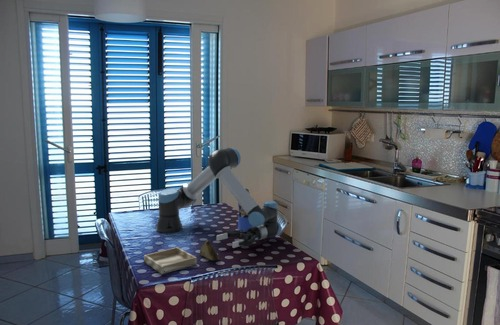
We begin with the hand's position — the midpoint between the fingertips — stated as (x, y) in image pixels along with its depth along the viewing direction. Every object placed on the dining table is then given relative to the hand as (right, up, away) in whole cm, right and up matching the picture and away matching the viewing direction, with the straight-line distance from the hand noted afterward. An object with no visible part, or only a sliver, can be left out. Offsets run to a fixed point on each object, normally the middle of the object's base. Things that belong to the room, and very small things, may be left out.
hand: (224, 241), depth 212 cm
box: (-25, -8, -13) cm, 29 cm away
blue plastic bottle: (+10, -1, +38) cm, 39 cm away
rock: (-7, -7, -5) cm, 11 cm away
